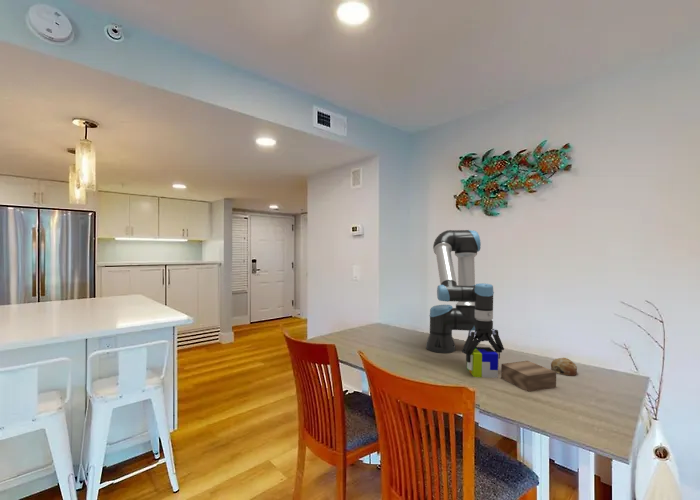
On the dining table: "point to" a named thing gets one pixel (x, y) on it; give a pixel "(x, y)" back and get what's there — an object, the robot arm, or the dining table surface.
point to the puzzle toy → (484, 363)
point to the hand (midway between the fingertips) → (483, 367)
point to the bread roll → (564, 366)
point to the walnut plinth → (528, 375)
